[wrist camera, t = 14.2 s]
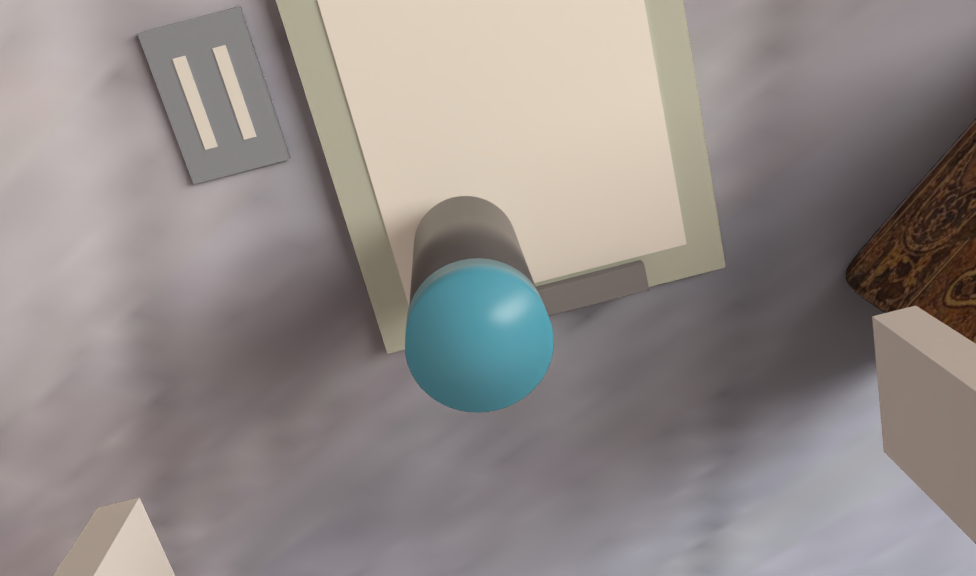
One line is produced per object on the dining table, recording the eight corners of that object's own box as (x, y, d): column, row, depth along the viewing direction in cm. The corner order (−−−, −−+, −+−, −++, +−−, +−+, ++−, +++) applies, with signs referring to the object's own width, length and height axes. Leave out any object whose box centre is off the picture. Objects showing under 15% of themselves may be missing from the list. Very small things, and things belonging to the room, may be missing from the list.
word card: (139, 33, 32) (136, 33, 31) (240, 6, 32) (238, 6, 31) (195, 182, 34) (192, 184, 33) (290, 158, 33) (288, 159, 33)
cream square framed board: (269, -31, 31) (262, -33, 30) (655, -133, 31) (665, -140, 30) (388, 346, 36) (386, 359, 35) (719, 261, 36) (730, 271, 35)
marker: (401, 198, 33) (386, 295, 22) (500, 173, 33) (535, 257, 22) (428, 290, 35) (426, 427, 23) (522, 266, 35) (567, 392, 23)
